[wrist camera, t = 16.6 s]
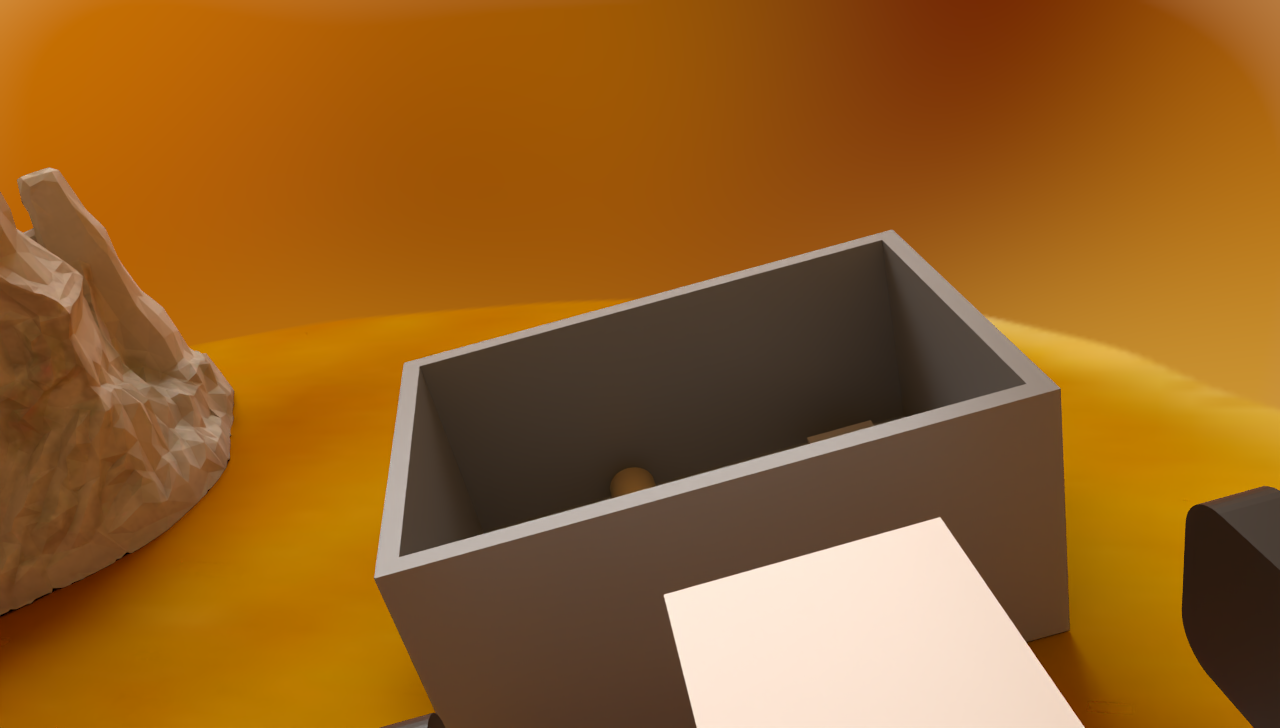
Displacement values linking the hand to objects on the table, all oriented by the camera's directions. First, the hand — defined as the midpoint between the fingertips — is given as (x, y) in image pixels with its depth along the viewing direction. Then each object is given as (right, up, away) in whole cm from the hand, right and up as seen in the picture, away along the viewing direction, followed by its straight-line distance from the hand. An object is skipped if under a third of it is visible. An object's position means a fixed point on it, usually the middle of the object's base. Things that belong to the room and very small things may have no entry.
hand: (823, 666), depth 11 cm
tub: (+1, -3, +19) cm, 19 cm away
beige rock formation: (-27, -3, +33) cm, 42 cm away
